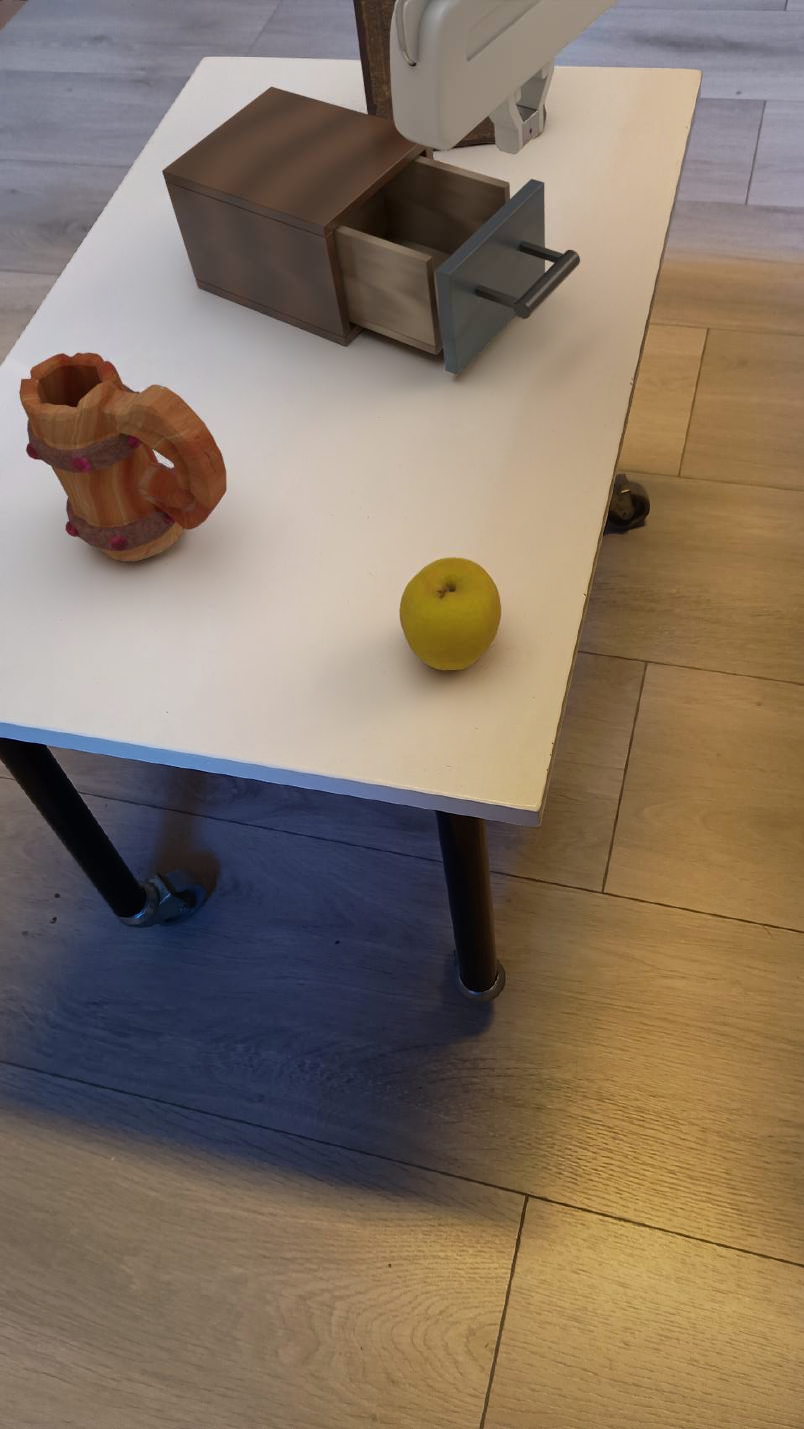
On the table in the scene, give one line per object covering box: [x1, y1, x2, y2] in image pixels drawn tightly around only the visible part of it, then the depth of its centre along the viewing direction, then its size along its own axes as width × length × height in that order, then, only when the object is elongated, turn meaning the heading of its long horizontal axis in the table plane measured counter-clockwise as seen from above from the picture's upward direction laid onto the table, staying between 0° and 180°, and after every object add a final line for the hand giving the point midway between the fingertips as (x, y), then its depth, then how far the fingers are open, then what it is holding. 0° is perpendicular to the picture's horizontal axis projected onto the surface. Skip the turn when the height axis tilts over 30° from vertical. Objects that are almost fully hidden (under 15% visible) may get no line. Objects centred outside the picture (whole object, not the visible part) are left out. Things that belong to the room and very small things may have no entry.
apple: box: [399, 556, 502, 671], centre depth 69 cm, size 6×6×8 cm
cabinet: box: [161, 86, 435, 347], centre depth 93 cm, size 17×14×11 cm
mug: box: [18, 352, 228, 562], centre depth 75 cm, size 15×8×15 cm, turn 62°
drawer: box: [332, 155, 581, 376], centre depth 87 cm, size 20×13×9 cm, turn 54°
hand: (519, 141), depth 71 cm, fingers closed
